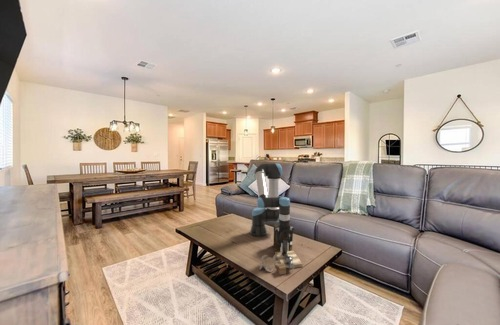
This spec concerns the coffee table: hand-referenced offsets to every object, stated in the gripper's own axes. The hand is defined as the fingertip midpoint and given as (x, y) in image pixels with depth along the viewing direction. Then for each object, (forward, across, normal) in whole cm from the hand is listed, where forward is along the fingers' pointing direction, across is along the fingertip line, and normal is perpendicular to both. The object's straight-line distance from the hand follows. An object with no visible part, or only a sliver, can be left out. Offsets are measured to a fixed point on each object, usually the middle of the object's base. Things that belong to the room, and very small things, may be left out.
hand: (284, 251), depth 155 cm
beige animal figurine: (+5, -13, -10) cm, 17 cm away
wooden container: (+5, +4, +15) cm, 16 cm away
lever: (+3, 0, -8) cm, 8 cm away
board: (+5, +2, -4) cm, 7 cm away
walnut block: (+5, -8, -16) cm, 19 cm away
